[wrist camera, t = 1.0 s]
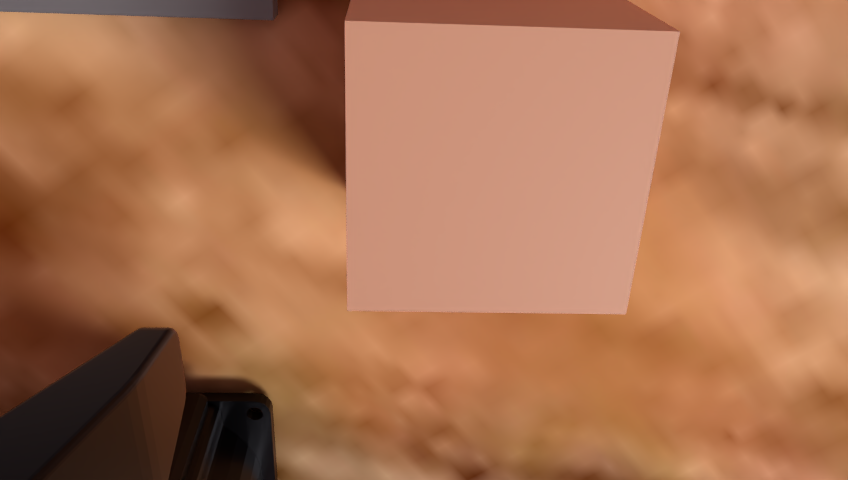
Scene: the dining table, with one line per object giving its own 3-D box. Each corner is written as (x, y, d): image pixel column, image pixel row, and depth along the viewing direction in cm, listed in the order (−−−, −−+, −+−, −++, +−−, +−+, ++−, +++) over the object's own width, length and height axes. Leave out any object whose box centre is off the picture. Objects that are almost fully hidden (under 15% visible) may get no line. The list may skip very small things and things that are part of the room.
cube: (567, 201, 21) (625, 314, 16) (358, 196, 21) (347, 310, 16) (597, -18, 19) (679, 31, 13) (358, -26, 18) (344, 20, 13)
